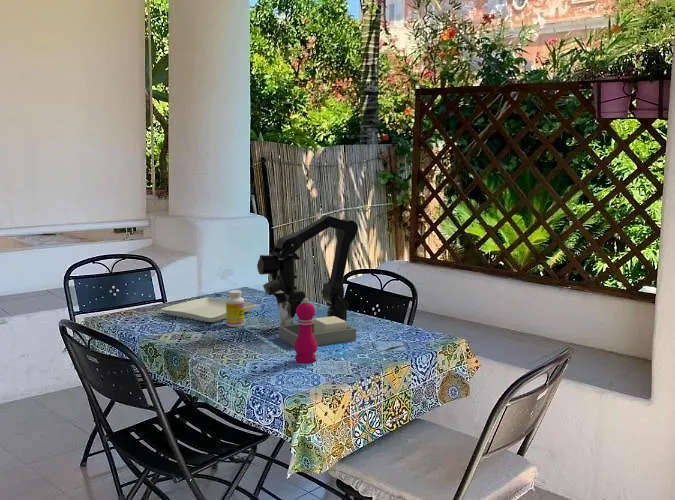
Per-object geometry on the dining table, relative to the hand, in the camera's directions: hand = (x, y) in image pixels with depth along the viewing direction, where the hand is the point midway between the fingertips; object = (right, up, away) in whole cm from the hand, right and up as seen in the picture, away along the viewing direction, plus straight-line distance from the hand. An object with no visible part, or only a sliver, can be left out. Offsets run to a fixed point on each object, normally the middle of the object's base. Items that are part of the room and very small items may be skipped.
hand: (286, 314), depth 258 cm
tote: (+11, -8, -14) cm, 20 cm away
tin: (0, -6, +1) cm, 6 cm away
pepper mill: (+8, -11, -35) cm, 38 cm away
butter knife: (+33, -11, -26) cm, 43 cm away
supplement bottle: (-20, -5, +7) cm, 21 cm away
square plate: (-32, -3, +24) cm, 40 cm away
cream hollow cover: (+16, -7, -12) cm, 21 cm away
